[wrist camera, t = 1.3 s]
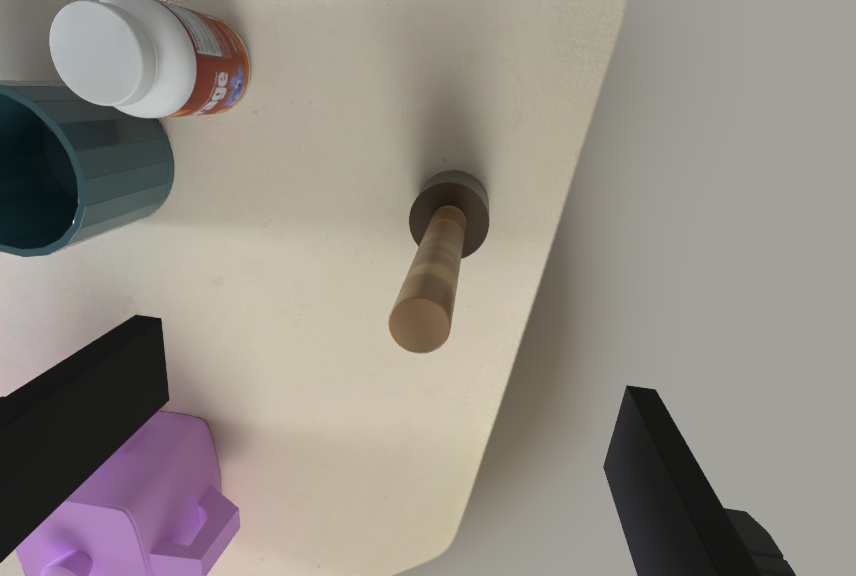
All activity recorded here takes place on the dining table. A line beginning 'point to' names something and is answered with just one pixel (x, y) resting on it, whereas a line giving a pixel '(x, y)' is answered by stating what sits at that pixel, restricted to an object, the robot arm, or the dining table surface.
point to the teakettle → (141, 510)
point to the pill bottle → (149, 58)
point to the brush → (438, 258)
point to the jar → (74, 168)
